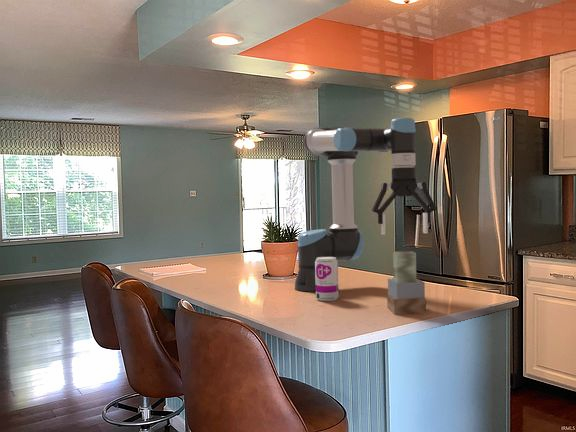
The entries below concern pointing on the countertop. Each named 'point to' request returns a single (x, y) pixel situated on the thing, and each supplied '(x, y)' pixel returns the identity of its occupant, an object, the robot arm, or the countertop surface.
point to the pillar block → (404, 266)
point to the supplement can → (326, 278)
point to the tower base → (406, 305)
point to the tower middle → (406, 289)
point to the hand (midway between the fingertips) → (404, 233)
